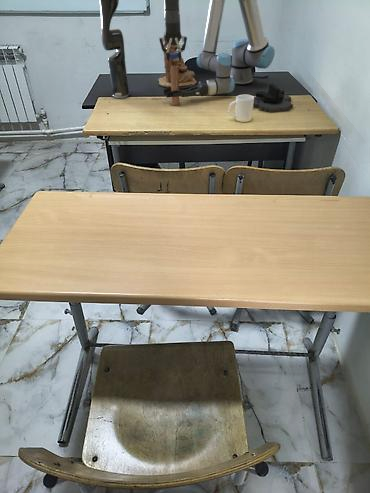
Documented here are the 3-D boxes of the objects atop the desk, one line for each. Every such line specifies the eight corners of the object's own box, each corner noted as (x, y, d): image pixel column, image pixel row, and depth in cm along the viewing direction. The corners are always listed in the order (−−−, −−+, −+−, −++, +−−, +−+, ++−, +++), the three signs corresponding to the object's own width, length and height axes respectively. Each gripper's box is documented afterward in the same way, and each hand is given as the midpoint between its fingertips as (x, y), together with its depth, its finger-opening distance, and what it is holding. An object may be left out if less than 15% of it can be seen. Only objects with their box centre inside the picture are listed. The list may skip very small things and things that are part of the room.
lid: (180, 56, 180) (180, 52, 179) (175, 59, 176) (175, 55, 175) (171, 55, 182) (171, 52, 181) (166, 58, 178) (166, 54, 177)
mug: (229, 123, 170) (230, 101, 163) (225, 117, 176) (226, 95, 170) (254, 121, 171) (256, 99, 164) (249, 115, 177) (251, 93, 171)
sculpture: (197, 88, 213) (196, 30, 194) (156, 89, 214) (152, 31, 194) (196, 75, 234) (196, 22, 215) (159, 76, 235) (156, 23, 215)
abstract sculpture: (255, 94, 173) (243, 83, 188) (253, 113, 179) (242, 100, 194) (304, 90, 176) (288, 79, 191) (301, 109, 182) (286, 97, 197)
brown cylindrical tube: (171, 103, 195) (169, 65, 183) (178, 102, 195) (177, 64, 183) (172, 105, 192) (170, 67, 180) (179, 105, 192) (178, 66, 180)
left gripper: (158, 23, 165) (160, 63, 176) (188, 21, 167) (189, 61, 178) (156, 20, 171) (158, 59, 182) (185, 18, 172) (186, 57, 183)
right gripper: (212, 100, 190) (170, 106, 184) (200, 90, 202) (161, 96, 197) (212, 85, 185) (169, 90, 180) (200, 76, 198) (160, 81, 192)
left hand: (173, 60), depth 180 cm, fingers closed on lid, 4 cm apart
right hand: (165, 93), depth 188 cm, fingers closed on brown cylindrical tube, 4 cm apart
